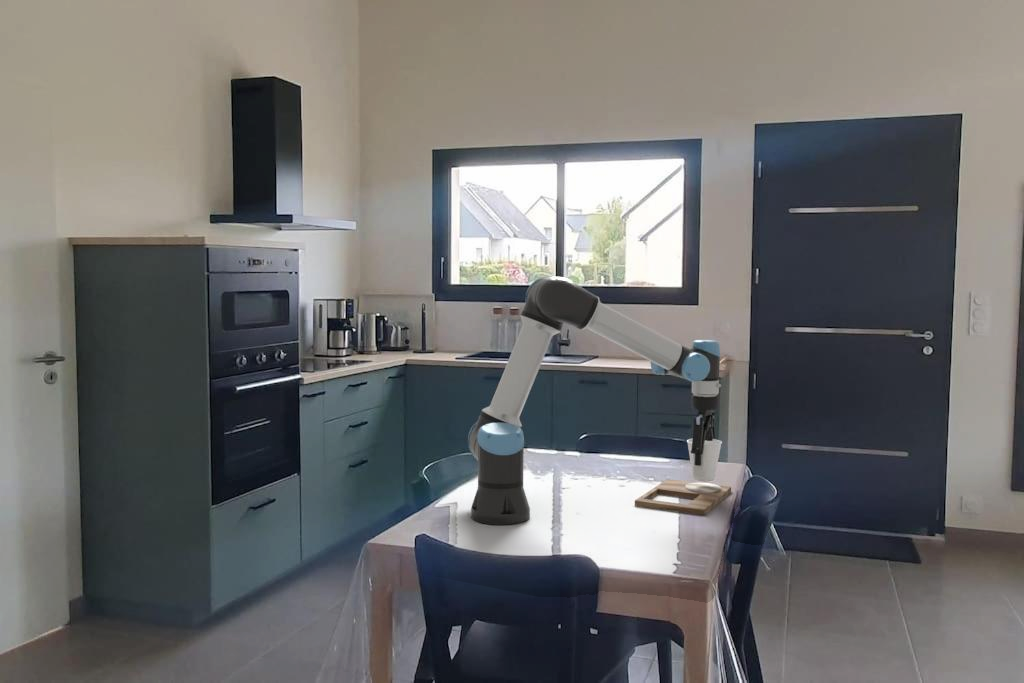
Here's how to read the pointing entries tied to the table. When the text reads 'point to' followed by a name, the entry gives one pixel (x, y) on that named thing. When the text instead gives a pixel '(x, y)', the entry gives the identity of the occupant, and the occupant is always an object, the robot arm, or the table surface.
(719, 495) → the board
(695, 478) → the cup
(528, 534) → the table surface
